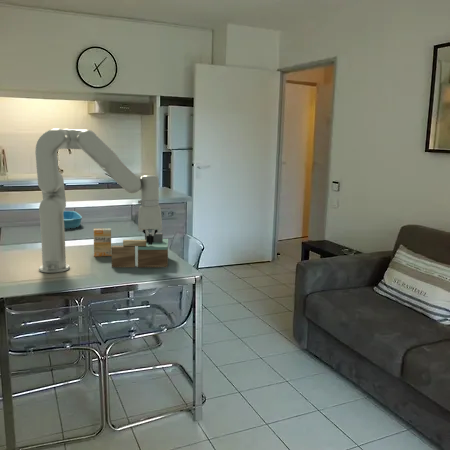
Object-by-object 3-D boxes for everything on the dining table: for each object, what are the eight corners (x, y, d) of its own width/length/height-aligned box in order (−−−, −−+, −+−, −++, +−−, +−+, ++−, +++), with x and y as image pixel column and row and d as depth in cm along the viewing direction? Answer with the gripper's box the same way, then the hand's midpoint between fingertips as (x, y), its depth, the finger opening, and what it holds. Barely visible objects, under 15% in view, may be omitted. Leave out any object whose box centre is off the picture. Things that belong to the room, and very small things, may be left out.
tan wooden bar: (146, 246, 216) (146, 240, 215) (123, 246, 215) (122, 240, 214) (146, 244, 218) (146, 239, 218) (123, 245, 217) (123, 239, 217)
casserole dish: (85, 229, 303) (84, 218, 302) (47, 231, 293) (46, 220, 292) (75, 220, 335) (75, 209, 334) (40, 221, 326) (40, 211, 324)
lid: (167, 249, 216) (167, 238, 215) (137, 249, 215) (137, 238, 214) (168, 241, 234) (168, 230, 233) (140, 241, 233) (140, 230, 232)
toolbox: (167, 267, 218) (167, 247, 216) (111, 267, 215) (111, 247, 213) (167, 257, 235) (167, 238, 234) (116, 257, 233) (115, 238, 231)
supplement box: (94, 257, 233) (93, 230, 231) (93, 254, 238) (93, 228, 236) (111, 256, 236) (111, 229, 233) (111, 253, 240) (110, 227, 238)
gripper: (132, 204, 209) (132, 246, 213) (167, 204, 211) (167, 246, 214) (133, 202, 217) (133, 242, 220) (167, 202, 218) (167, 242, 221)
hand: (150, 244), depth 217 cm, fingers closed
